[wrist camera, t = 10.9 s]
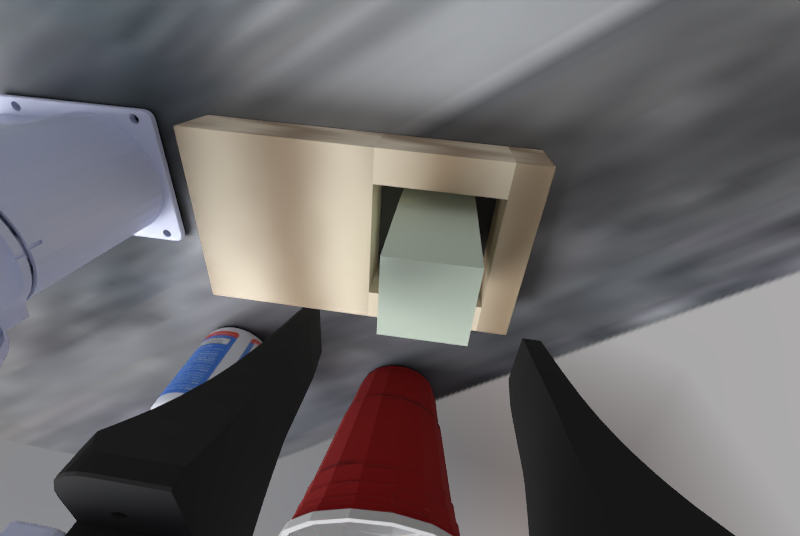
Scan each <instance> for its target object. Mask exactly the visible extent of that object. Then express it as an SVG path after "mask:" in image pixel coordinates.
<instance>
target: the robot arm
mask: <svg viewBox="0 0 800 536" xmlns="http://www.w3.org/2000/svg"><path fill="white" fill-rule="evenodd" d="M19 105H20V106H19ZM20 107H21V108H20ZM135 115H136V116H137V117H138V119H139V122H138V121H137V120H136V119H135ZM167 230H168V231H169V232H170V233H171V234H170V233H169V232H168V231H167ZM132 235H136V236H143V237H151V238H159V239H166V240H174V241H180V240H181V239H183V238H184V237H185V231H184V227H183V223H182V219H181V216H180V212H179V208H178V204H177V200H176V196H175V192H174V189H173V185H172V181H171V177H170V173H169V169H168V165H167V162H166V158H165V154H164V150H163V146H162V142H161V139H160V135H159V131H158V127H157V123H156V119H155V117H154V115H153V114H152V113H151V112H150V111H148V110H146V109H138V108H129V107H120V106H110V105H101V104H91V103H82V102H72V101H63V100H53V99H44V98H35V97H25V96H16V95H6V94H0V366H1V365H2V363H3V361H4V360H5V358H6V356H7V353H8V350H9V339H8V337H7V335H6V333H5V332H6V331H7V330H9V329H10V328H12V327H13V326H15V325H16V324H18V323H19V322H21V321H23V320H24V319H26V318H27V317H29V313H28V311H27V309H26V300H28V299H29V298H31V297H33V296H34V295H36V294H38V293H39V292H41V291H42V290H44V289H46V288H47V287H49V286H51V285H52V284H54V283H56V282H57V281H59V280H60V279H62V278H64V277H65V276H67V275H69V274H70V273H72V272H73V271H75V270H77V269H78V268H80V267H82V266H83V265H85V264H86V263H88V262H90V261H91V260H93V259H95V258H96V257H98V256H100V255H101V254H103V253H104V252H106V251H108V250H109V249H111V248H113V247H114V246H116V245H117V244H119V243H121V242H122V241H124V240H126V239H127V238H129V237H130V236H132ZM321 352H322V350H321V329H320V310H317V309H310V308H302V309H301V310H299V311H298V312H297V313H296V314H295V315H294V316H293V317H291V318H290V319H289V320H288V321H287V322H286V323H285V324H283V325H282V326H281V327H280V328H279V329H278V330H277V331H275V332H274V333H273V334H272V335H271V336H269V337H268V338H267V339H266V340H265V341H263V342H262V343H261V344H260V345H258V346H257V347H256V348H255V349H253V350H252V351H251V352H249V353H248V354H247V355H245V356H244V357H243V358H241V359H240V360H238V361H237V362H236V363H234V364H233V365H231V366H230V367H228V368H227V369H225V370H224V371H222V372H221V373H219V374H218V375H216V376H214V377H213V378H211V379H210V380H208V381H206V382H204V383H202V384H201V385H199V386H197V387H195V388H193V389H192V390H190V391H188V392H186V393H184V394H182V395H181V396H179V397H177V398H175V399H173V400H170V401H168V402H166V403H164V404H162V405H160V406H158V407H156V408H154V409H151V410H149V411H147V412H145V413H142V414H140V415H138V416H135V417H133V418H130V419H128V420H125V421H123V422H120V423H118V424H115V425H113V426H110V427H108V428H105V429H102V430H100V431H97V432H96V433H95V434H94V435H93V437H92V438H91V439H90V440H89V441H88V442H87V443H86V444H85V445H84V446H83V447H82V448H81V449H80V450H79V452H78V453H77V454H76V455H75V456H74V457H73V458H72V460H71V461H70V462H69V463H68V464H67V465H66V466H65V467H64V469H63V470H62V471H61V472H60V473H59V474H58V475H57V476H56V478H55V479H54V491H55V492H56V494H57V496H58V497H59V499H60V500H61V501H62V502H63V504H64V505H65V506H66V507H67V509H68V510H69V511H70V512H71V514H72V515H73V516H74V518H75V519H76V520H77V521H76V523H75V524H74V525H73V527H72V528H71V529H70V530H69V532H68V533H67V534H66V533H65V532H63V531H61V530H58V529H56V528H52V527H48V526H42V525H36V524H32V523H26V522H21V521H13V522H11V523H9V525H8V526H7V527H6V528H5V529H4V530H3V531H2V532H1V533H0V536H253V532H254V529H255V526H256V523H257V520H258V516H259V513H260V510H261V507H262V504H263V500H264V497H265V495H266V492H267V488H268V486H269V482H270V480H271V477H272V474H273V471H274V468H275V465H276V462H277V459H278V457H279V454H280V451H281V448H282V445H283V443H284V440H285V438H286V435H287V433H288V431H289V429H290V427H291V424H292V422H293V420H294V418H295V416H296V414H297V412H298V409H299V407H300V405H301V403H302V401H303V399H304V397H305V394H306V392H307V390H308V388H309V386H310V383H311V381H312V379H313V377H314V374H315V371H316V368H317V365H318V361H319V358H320V355H321ZM509 390H510V391H509V392H510V406H511V412H512V418H513V423H514V428H515V433H516V439H517V444H518V449H519V454H520V459H521V464H522V469H523V475H524V482H525V491H526V502H527V513H528V525H529V536H735V535H733V534H732V533H731V532H729V531H728V530H727V529H725V528H724V527H723V526H721V525H720V524H718V523H717V522H716V521H714V520H713V519H712V518H710V517H709V516H708V515H706V514H705V513H704V512H702V511H701V510H700V509H698V508H697V507H696V506H694V505H693V504H692V503H690V502H689V501H688V500H687V499H685V498H684V497H683V496H682V495H680V494H679V493H678V492H677V491H676V490H674V489H673V488H672V487H671V486H669V485H668V484H667V483H666V482H665V481H663V480H662V479H661V478H660V477H659V476H658V475H656V474H655V473H654V472H653V471H652V470H651V469H650V468H649V467H647V465H645V464H644V463H643V462H642V461H641V460H640V459H639V458H638V457H637V456H636V455H635V454H633V453H632V452H631V451H630V450H629V449H628V448H627V447H626V446H625V445H624V444H623V443H622V442H621V441H620V440H619V439H618V438H617V437H616V436H615V435H614V433H612V432H611V430H610V429H609V428H608V427H607V426H606V425H605V424H604V423H603V422H602V421H601V420H600V419H599V417H598V416H597V415H596V414H595V413H594V412H593V410H592V409H591V408H590V407H589V406H588V405H587V403H586V402H585V401H584V400H583V398H582V397H581V396H580V395H579V394H578V392H577V391H576V389H575V388H574V387H573V385H572V384H571V383H570V382H569V380H568V379H567V377H566V376H565V375H564V373H563V372H562V371H561V369H560V368H559V367H558V365H557V364H556V362H555V361H554V359H553V358H552V356H551V355H550V354H549V352H548V351H547V349H546V348H545V347H544V345H543V344H542V342H541V341H537V340H530V339H522V342H521V345H520V347H519V350H518V353H517V356H516V359H515V362H514V365H513V368H512V371H511V374H510V377H509Z"/></svg>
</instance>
